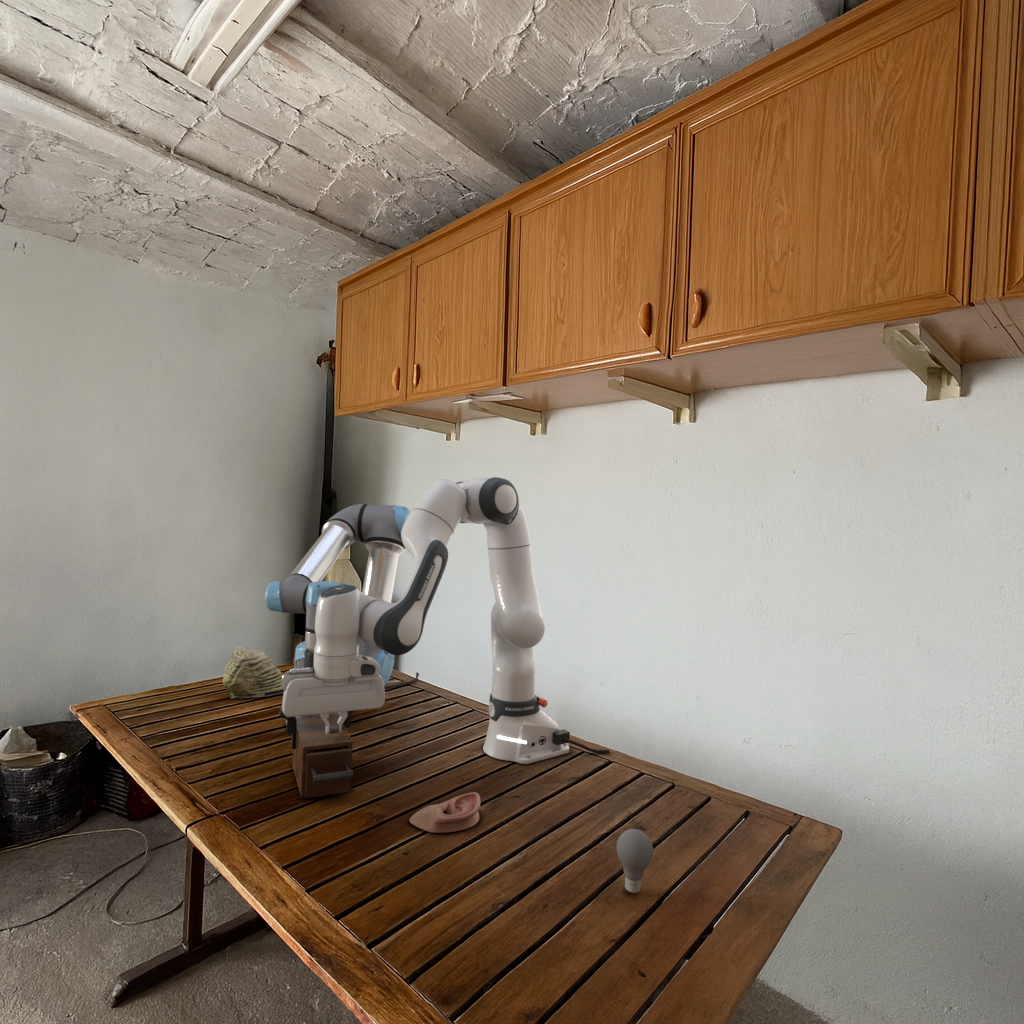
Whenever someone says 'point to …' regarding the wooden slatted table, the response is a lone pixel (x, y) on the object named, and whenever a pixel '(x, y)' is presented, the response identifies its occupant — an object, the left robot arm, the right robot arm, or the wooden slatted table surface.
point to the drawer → (328, 771)
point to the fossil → (251, 674)
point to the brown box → (315, 744)
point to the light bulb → (634, 857)
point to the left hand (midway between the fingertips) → (318, 744)
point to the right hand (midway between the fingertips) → (333, 732)
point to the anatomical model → (449, 814)
